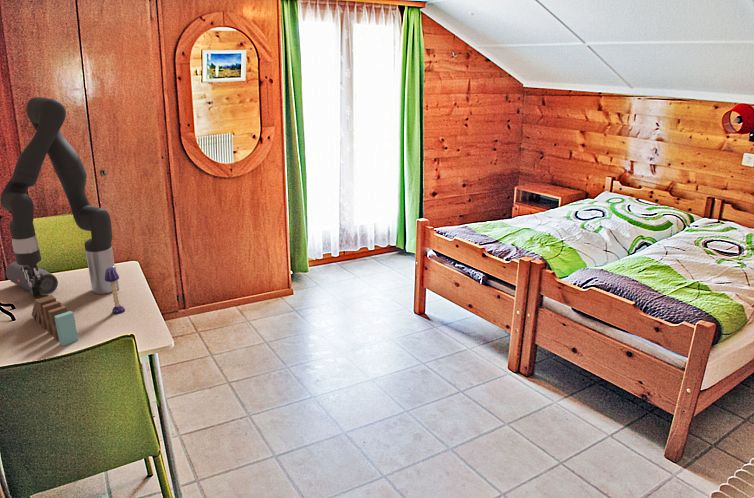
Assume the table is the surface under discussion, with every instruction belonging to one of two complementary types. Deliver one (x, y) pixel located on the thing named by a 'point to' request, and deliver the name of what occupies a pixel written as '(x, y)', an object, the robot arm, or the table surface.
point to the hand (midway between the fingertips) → (36, 295)
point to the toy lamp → (114, 288)
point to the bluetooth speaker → (17, 277)
